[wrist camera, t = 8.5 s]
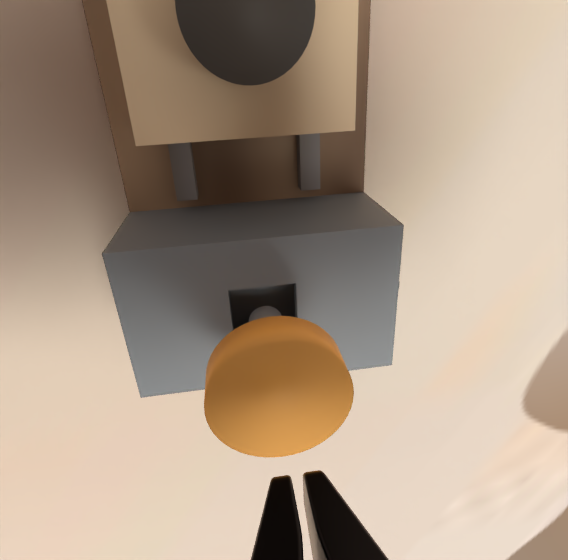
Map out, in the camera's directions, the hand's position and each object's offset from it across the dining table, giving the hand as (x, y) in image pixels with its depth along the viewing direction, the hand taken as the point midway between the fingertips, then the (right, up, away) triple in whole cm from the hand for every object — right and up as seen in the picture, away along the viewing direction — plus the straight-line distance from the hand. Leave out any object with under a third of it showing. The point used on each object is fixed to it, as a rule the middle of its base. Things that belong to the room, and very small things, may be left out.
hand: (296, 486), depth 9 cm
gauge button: (-1, +3, +6) cm, 7 cm away
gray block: (-2, +6, +12) cm, 13 cm away
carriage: (-2, +13, +5) cm, 14 cm away
